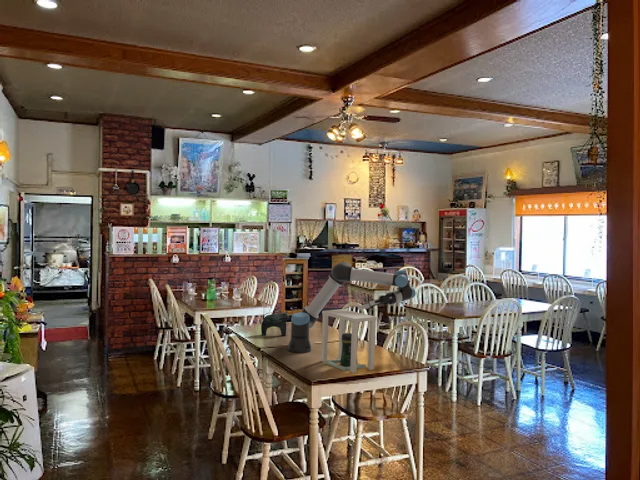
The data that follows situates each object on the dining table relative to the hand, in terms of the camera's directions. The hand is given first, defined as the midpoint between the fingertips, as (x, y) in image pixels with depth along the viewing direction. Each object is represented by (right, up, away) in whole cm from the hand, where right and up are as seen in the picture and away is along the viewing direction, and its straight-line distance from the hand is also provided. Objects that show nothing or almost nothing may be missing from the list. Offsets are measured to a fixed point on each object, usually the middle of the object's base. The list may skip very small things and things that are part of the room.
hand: (365, 305), depth 318 cm
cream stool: (-12, -32, -20) cm, 40 cm away
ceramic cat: (-61, -29, +56) cm, 88 cm away
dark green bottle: (-11, -32, -20) cm, 39 cm away
